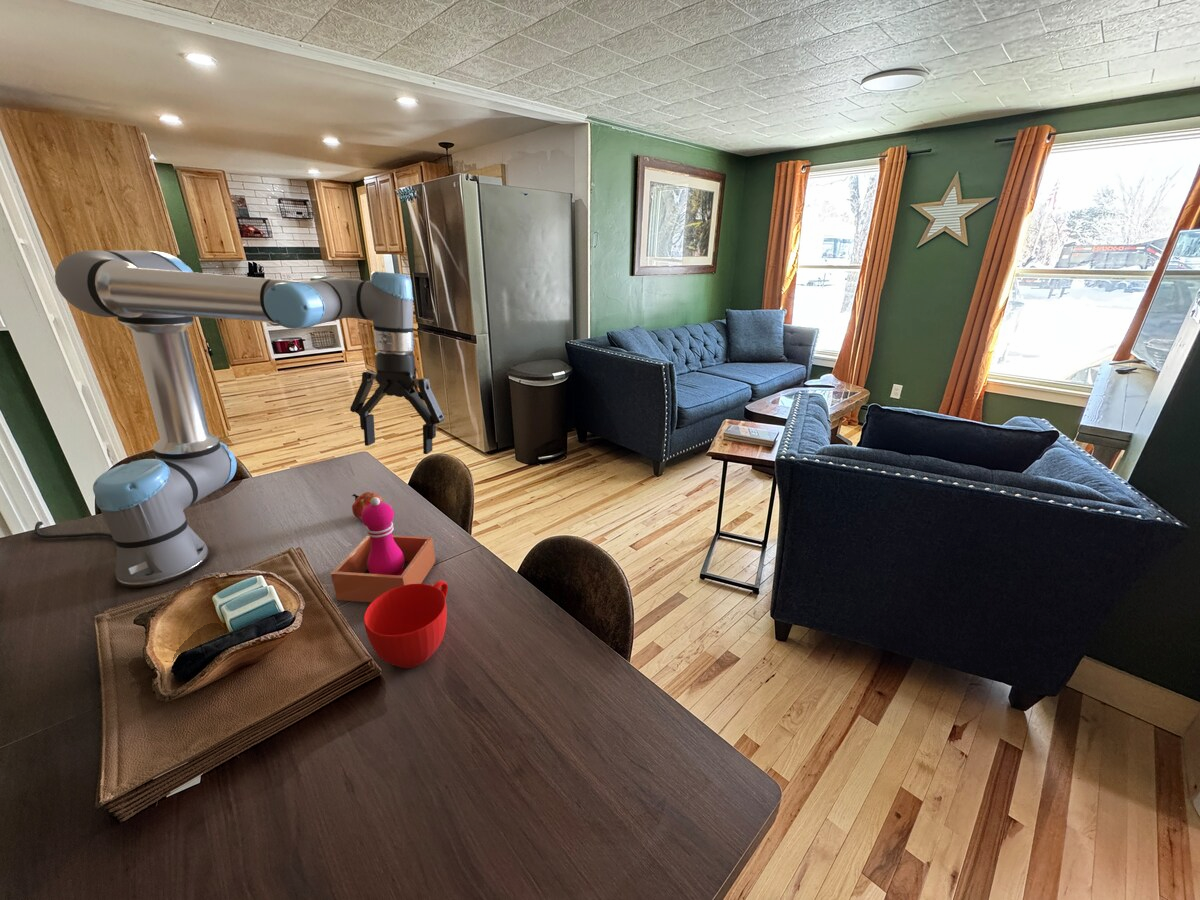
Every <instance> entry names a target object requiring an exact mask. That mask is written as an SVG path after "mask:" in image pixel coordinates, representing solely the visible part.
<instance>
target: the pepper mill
mask: <svg viewBox="0 0 1200 900" xmlns="http://www.w3.org/2000/svg"><path fill="white" fill-rule="evenodd" d="M370 503H371V504H369V505H368V506H366V507H365V508H364V510H363V511H362V515H361V519H360V520H361V523H362V525H364V527H365V529H366V534H367V536H370V538H371V551H370V554H369V557H368V562H367V565H368V569H367V570H368V572H369V574H383V575H399V576H401V575H402V573H403V572H404V571H405V569H404V566H405V563H406V562H405V559H404V555H403V553H402V551H401V549H400V548H399V547H398V546H397V544H396V543H395V541H394V539H393V536H392V535H393V532H394V529H395V528H394V523H393V521H394V518H395V512H394V509H393V507H392V506H391V505H390V504H389V503H388V502H387V503H386V502H384V501H383V502H380V499H379V498H377V497H373V498H372V499H371V501H370Z"/></svg>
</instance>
